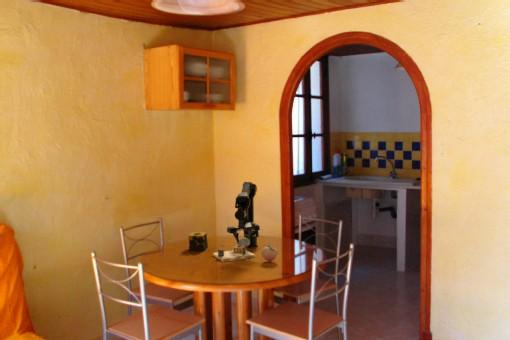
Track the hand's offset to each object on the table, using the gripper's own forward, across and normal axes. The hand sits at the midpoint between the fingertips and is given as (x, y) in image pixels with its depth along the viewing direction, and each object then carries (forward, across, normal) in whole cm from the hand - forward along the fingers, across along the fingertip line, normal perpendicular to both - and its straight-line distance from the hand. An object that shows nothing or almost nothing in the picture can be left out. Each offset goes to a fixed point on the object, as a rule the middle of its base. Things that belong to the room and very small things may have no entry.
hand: (243, 243), depth 288 cm
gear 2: (+7, 0, +7) cm, 10 cm away
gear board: (+8, -5, +4) cm, 10 cm away
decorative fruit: (+8, +8, -17) cm, 21 cm away
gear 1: (+1, 0, 0) cm, 1 cm away
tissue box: (+8, -18, +31) cm, 37 cm away
